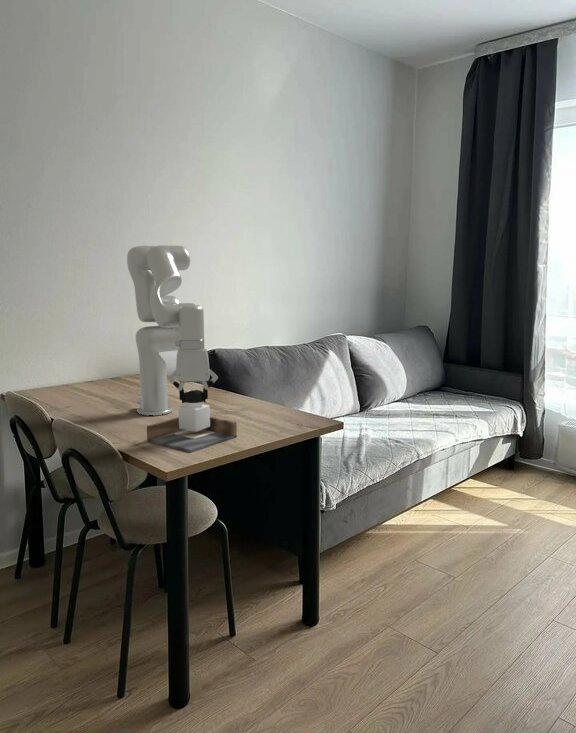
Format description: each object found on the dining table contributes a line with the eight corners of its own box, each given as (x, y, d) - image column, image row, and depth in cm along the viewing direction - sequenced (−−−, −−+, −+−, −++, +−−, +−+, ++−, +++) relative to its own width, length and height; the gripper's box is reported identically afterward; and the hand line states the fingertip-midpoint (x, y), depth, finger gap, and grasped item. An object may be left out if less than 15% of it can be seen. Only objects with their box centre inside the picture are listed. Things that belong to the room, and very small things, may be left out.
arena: (147, 441, 193) (146, 425, 192) (194, 427, 209) (193, 413, 208) (190, 452, 182) (190, 435, 181) (236, 437, 198) (236, 421, 197)
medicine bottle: (210, 426, 200) (209, 390, 198) (196, 432, 194) (194, 394, 192) (193, 424, 203) (192, 387, 201) (178, 428, 197) (177, 391, 195)
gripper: (163, 347, 189) (165, 405, 192) (220, 346, 192) (221, 403, 195) (164, 344, 197) (166, 400, 200) (219, 343, 199) (221, 398, 202)
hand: (193, 401), depth 197 cm, fingers closed on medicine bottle, 6 cm apart
